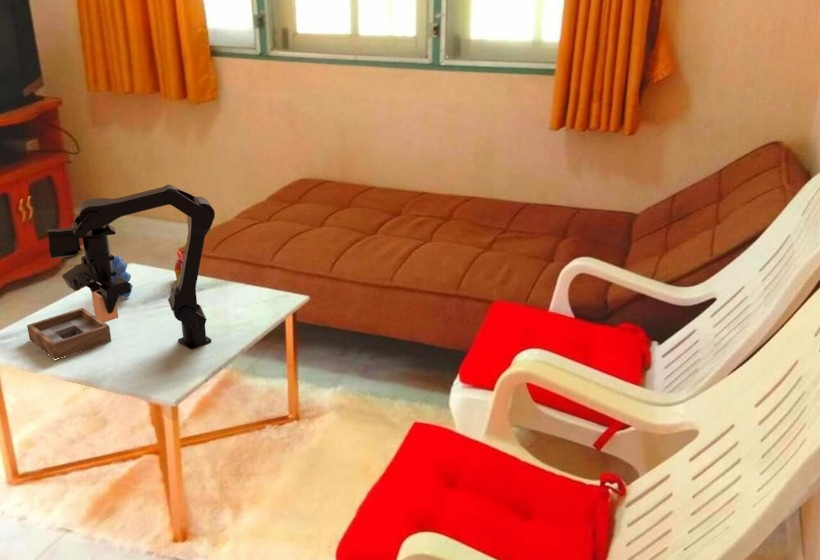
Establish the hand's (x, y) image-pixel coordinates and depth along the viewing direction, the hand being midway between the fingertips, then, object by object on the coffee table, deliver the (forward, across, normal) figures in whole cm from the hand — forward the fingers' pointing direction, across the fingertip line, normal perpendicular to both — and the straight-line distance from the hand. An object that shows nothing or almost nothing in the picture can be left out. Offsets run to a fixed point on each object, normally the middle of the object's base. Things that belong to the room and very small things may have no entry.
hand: (105, 310), depth 192 cm
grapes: (+13, -32, +19) cm, 39 cm away
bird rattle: (+13, -27, +37) cm, 48 cm away
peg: (+2, 0, 0) cm, 2 cm away
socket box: (+13, -15, -4) cm, 20 cm away
